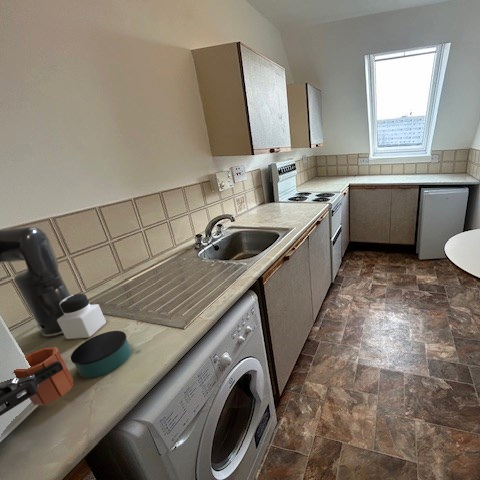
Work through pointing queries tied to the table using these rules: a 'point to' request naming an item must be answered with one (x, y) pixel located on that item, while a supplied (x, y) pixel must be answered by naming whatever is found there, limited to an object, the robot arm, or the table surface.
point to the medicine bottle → (80, 317)
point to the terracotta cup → (51, 386)
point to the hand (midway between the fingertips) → (54, 358)
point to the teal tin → (101, 354)
